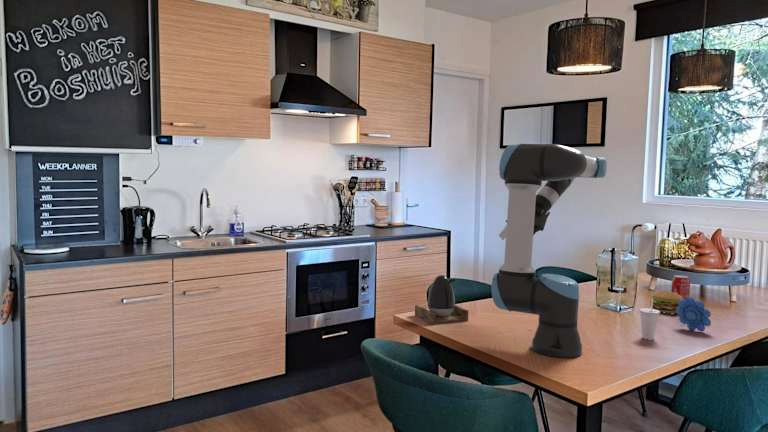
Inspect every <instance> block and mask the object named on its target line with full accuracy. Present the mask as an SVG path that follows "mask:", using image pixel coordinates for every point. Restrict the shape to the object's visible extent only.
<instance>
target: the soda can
mask: <svg viewBox="0 0 768 432" xmlns="http://www.w3.org/2000/svg"><path fill="white" fill-rule="evenodd" d="M670 289H671V290H670V292H673V293H676V294H678V295H680V296H681V297H682V299H683V300H685V301H686V299H687V298H688V297H690V293H691V280H690V277H689V276H688V275H682V274H681V275H680V274H674V275H673V278H672V279H671V288H670Z"/></svg>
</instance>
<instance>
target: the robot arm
mask: <svg viewBox="0 0 768 432" xmlns="http://www.w3.org/2000/svg"><path fill="white" fill-rule="evenodd" d="M607 169H608V168H607V159H606V158H605V157H600V156H596V157H595V156H594V157H592V156H591V157H590V156H588V155H585V154H584V153H583V152H582V151H581V150H578V149H575V148H573V147H569V146H565V145H561V144H557V143H548V144H547V143H518V144H509V145H508V146H506V147H505V149H504V150H503V152H502V155H501V157H500V160H499V167H498V172H499V178H500V179H501V180H503V181H504V186H505V187H506V188H507V190H508V200H507V201H508V202H507V218H506V220H505V222H506V225H505V227H504V228H503V230H501V232H499V234H498V237H499V239H501V240H502V241H504V240H505V246H504V262H503V264H502V265H501V266H499V268H498V272H496V273H494V275H493V276H492V281H491V297H492V301H493V304H494V305H495V306H496V307H497V308H498V309H500V310H504V311H508V312H515V313H524V314H530V315H538V325H537V328H536V330H535V333H534V337H533V338H532V341H531V349H532V351H534V352H536V353H538V354H541V355H544V356H547V357H554V358H564V359H565V358H567V359H570V358H576V357H579V356H581V355H582V353H583V344H582V342H581V338H580V333H579V329H578V319H579V304H580V303H579V299H580V298H581V297H580V286H579V283H578V282H577V281H576V280H574V279H572V278H570V277H567V276H565V275H560V274H556V273H555V274H554V273H542V274H541V275H540V276H539V277H536V274H537V273H536V270H535V269H534V268H533V267H532V261H533V260H532V257H533V245H534V244H533V243H534V236H535V234H536V233H537V232H539V231H540V232H543V231H544V229H545V226H546V223H547V220H548V217H549V216H550V215H551V212H550V210H551V209H552V207H553V206H554V205H555V204H556V203H557V201H558V200H559V199H560V197H562V195H563V194H564V193H565V192H566V191H567V189H568V188H569V187H570V186H571V184H572V183H574V182H573V181H574V180H575V179H576V178H587V179H588V178H589V179H591V178H592V179H593V178H594V179H598V178H601V179H602V178H605V176H606V175H607ZM543 181H544V182H545V184H544V185H543ZM546 181H547V182H546ZM542 185H543V186H542ZM538 190H539V191H538Z"/></svg>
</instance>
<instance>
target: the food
mask: <svg viewBox="0 0 768 432" xmlns="http://www.w3.org/2000/svg"><path fill="white" fill-rule="evenodd" d="M651 298H653V309H655V310H658V311H660V313H661V312H665V313H664V314H666V313H677V312H676V308H677V307H680V305H679V301H680V300H682V297H681V296H680V295H678V294H676V293H673V292H671V291H665V290H664V291H658V292H656V293H654V294H653V295H652V296H651V297H650V300H649V303H650V304H649V305H650V307H651Z"/></svg>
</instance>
